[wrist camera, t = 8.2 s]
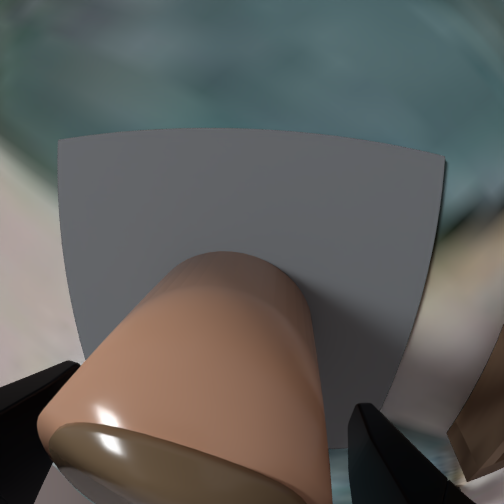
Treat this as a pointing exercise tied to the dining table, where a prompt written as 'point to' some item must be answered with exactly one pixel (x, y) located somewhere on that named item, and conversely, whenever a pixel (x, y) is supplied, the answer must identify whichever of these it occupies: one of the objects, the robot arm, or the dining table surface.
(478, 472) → the frame
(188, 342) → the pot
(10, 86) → the dining table surface
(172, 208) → the mat
